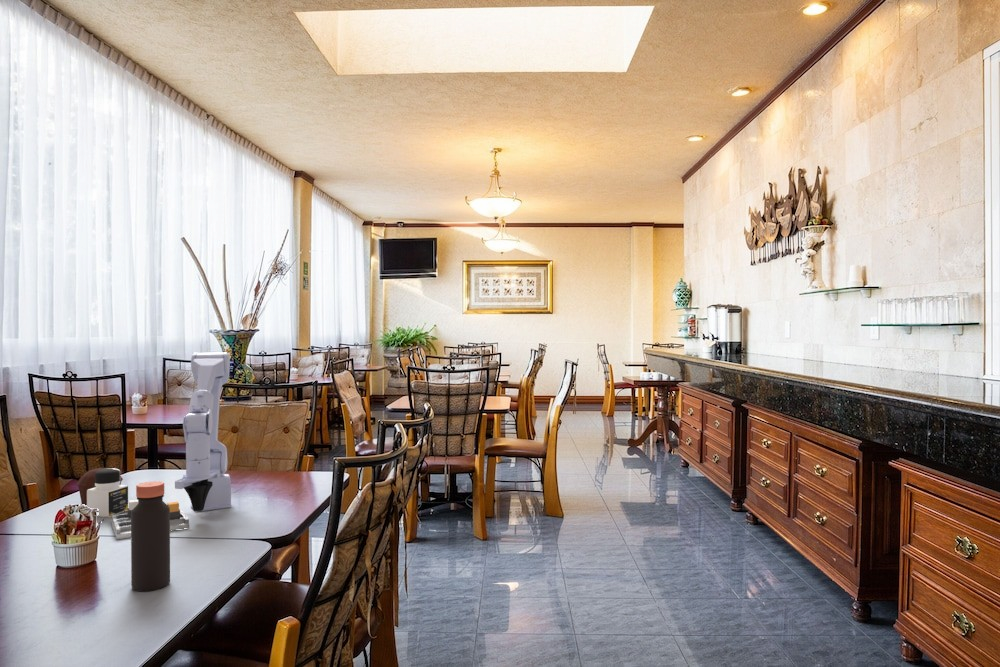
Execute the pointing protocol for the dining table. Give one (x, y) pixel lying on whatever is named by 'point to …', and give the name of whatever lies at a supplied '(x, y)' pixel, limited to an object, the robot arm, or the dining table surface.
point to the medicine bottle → (108, 493)
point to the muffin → (88, 483)
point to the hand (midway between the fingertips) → (198, 510)
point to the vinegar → (150, 538)
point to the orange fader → (174, 510)
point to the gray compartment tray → (124, 524)
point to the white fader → (131, 507)
